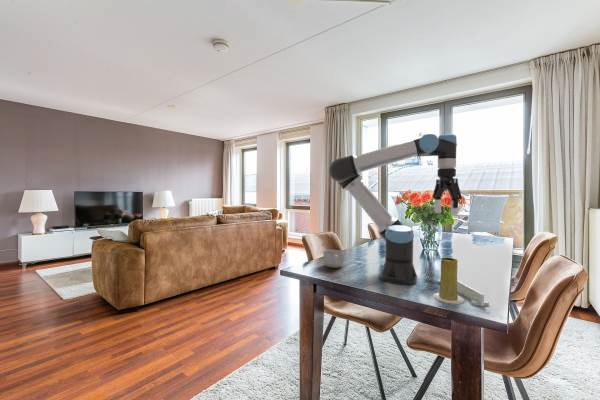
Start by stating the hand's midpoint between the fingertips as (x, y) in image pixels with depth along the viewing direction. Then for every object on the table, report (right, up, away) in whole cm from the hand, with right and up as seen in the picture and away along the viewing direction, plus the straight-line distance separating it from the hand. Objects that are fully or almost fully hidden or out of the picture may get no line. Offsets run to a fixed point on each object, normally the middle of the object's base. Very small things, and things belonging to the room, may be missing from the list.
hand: (445, 214), depth 130 cm
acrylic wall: (-6, -29, -21) cm, 37 cm away
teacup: (-51, -28, +13) cm, 59 cm away
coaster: (-13, -30, -27) cm, 42 cm away
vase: (-13, -29, -27) cm, 42 cm away
